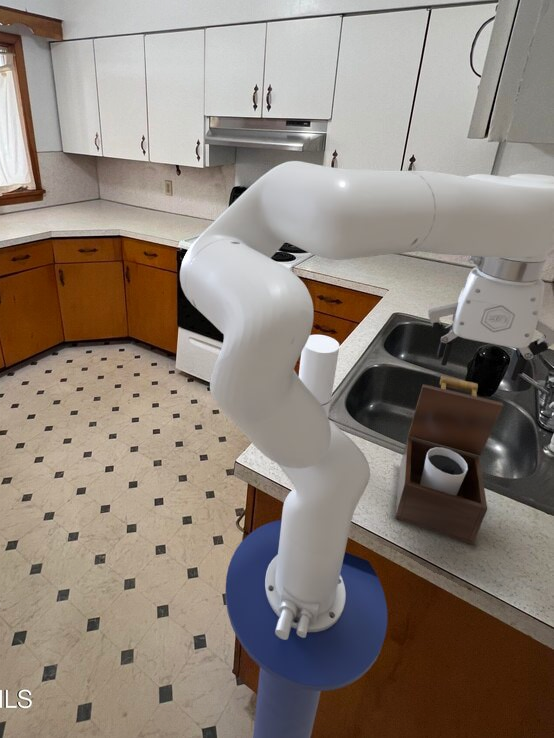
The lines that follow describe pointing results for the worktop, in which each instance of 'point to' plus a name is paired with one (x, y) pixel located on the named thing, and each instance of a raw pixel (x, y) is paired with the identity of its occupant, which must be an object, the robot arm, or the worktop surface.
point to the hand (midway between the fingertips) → (476, 368)
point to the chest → (440, 496)
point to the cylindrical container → (319, 367)
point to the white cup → (443, 470)
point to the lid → (454, 416)
